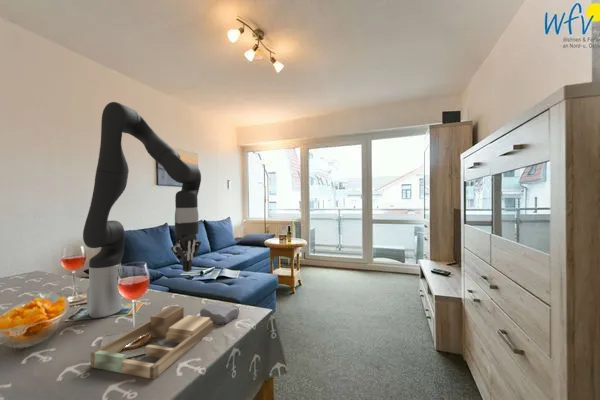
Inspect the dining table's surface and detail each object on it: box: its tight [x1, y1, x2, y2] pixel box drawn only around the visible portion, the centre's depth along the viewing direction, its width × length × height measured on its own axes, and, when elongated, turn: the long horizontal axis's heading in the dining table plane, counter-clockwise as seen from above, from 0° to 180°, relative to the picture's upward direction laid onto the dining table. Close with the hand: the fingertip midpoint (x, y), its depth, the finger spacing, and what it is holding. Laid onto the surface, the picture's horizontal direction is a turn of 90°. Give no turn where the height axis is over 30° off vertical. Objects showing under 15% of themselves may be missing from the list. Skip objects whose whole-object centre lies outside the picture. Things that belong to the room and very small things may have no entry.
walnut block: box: [150, 305, 185, 339], centre depth 78 cm, size 5×8×6 cm, turn 166°
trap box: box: [90, 314, 214, 380], centre depth 70 cm, size 18×23×4 cm
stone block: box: [199, 301, 240, 325], centre depth 88 cm, size 12×5×10 cm
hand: (187, 271), depth 87 cm, fingers closed
